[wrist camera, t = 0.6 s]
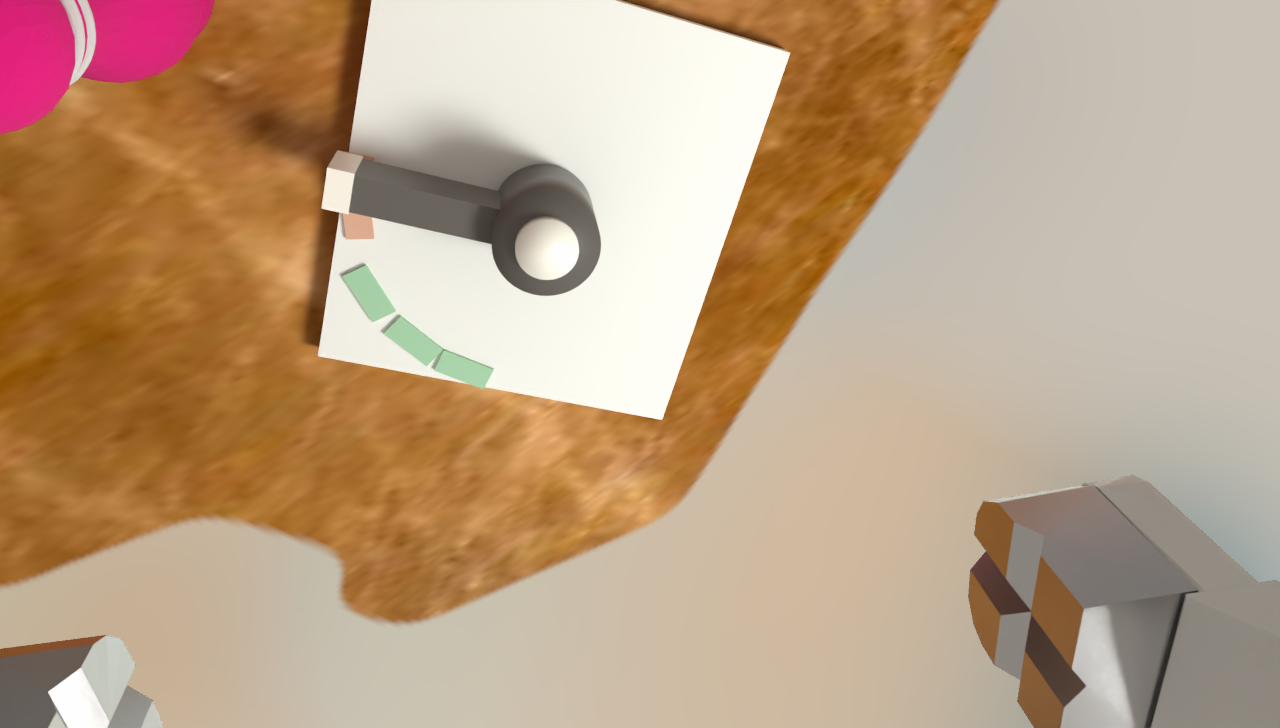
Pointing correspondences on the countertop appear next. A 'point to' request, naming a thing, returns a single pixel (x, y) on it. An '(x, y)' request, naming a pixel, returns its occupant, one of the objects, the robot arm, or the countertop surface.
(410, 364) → the tuner board
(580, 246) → the dial
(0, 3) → the pepper mill
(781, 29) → the countertop surface
